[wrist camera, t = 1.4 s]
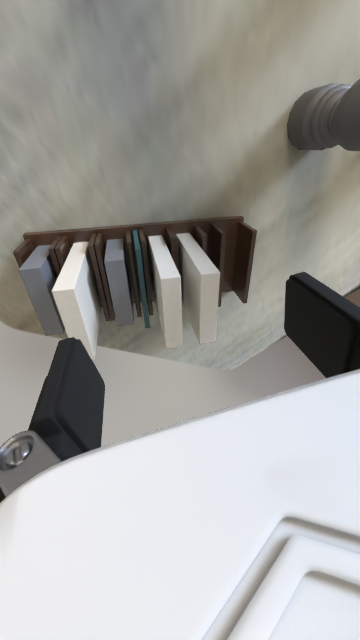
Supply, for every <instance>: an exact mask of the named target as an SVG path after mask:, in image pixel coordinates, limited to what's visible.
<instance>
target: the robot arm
mask: <svg viewBox="0 0 360 640" xmlns="http://www.w3.org/2000/svg"><path fill="white" fill-rule="evenodd" d="M284 329H285V332H286V334H287V335H288V337H289V338H290V339H291V340H292V341H293V342H294V343H295V344H296V345H297V346H298V347H299V349H300V350H301V351H302V352H303V353H304V354H305V355H306V356H307V357H308V359H309V360H310V361H311V362H312V363H313V364H314V365H315V366H316V367H317V368H318V370H319V371H320V372H321V373H322V374H323V375H324V376H325V377H326V379H323V380H319V381H316V382H313V383H309V384H306V385H302V386H299V387H296V388H292V389H289V390H285V391H282V392H279V393H275V394H272V395H269V396H265V397H262V398H258V399H255V400H252V401H249V402H245V403H242V404H239V405H235V406H232V407H229V408H225V409H222V410H219V411H215V412H212V413H209V414H205V415H203V416H199V417H196V418H192V419H189V420H186V421H183V422H179V423H176V424H173V425H169V426H166V427H163V428H160V429H157V430H153V431H150V432H147V433H144V434H140V435H137V436H134V437H131V438H128V439H124V440H121V441H118V442H115V443H112V444H109V445H106V446H103V447H101V437H102V423H103V422H102V421H103V408H104V394H105V385H104V381H103V379H102V377H101V375H100V374H99V372H98V370H97V368H96V367H95V365H94V363H93V361H92V359H91V358H90V356H89V354H88V352H87V350H86V349H85V347H84V345H83V343H82V341H81V340H80V339H75V338H74V337H71V338H67V339H64V340H60V341H59V343H58V346H57V349H56V352H55V355H54V358H53V361H52V364H51V367H50V370H49V373H48V376H47V377H46V379H45V381H44V384H43V387H42V390H41V393H40V396H39V399H38V402H37V405H36V408H35V411H34V414H33V417H32V420H31V423H30V426H29V429H28V430H27V431H23V432H20V433H18V434H16V435H14V436H12V437H11V438H9V439H8V440H7V441H6V442H5V443H4V444H3V445H2V446H1V447H0V640H360V307H358V306H356V305H355V304H353V303H352V302H350V301H349V300H347V299H346V298H344V297H343V296H341V295H340V294H338V293H336V292H335V291H333V290H332V289H330V288H329V287H327V286H326V285H324V284H323V283H321V282H320V281H318V280H316V279H315V278H313V277H312V276H310V275H309V274H307V273H305V272H301V273H298V274H294V275H291V276H290V277H289V279H288V280H287V281H286V294H285V322H284Z"/></svg>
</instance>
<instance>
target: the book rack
mask: <svg viewBox="0 0 360 640" xmlns="http://www.w3.org/2000/svg"><path fill="white" fill-rule="evenodd" d="M243 220H244V217H242V216H235V217H222V218H210V219H197V220H184V221H172V222H159V223H147V224H134V225H121V226H109V227H96V228H83V229H71V230H58V231H46V232H33V233H25V234H24V235H23V237H24V240H25V241H24V242H23V243H22V244H21V245H20V246H19V247H18V248H17V249H16V250H15V251H14V252H13V253H14V256H15V258H16V260H17V263H18V265H19V268H20V267H21V266H22V265H23V264H24V262H25V261H26V260H27V259H28V257H29V256H30V255H31V254H32V252H33V251H34V250H35V249H36V247H37V246H42V245H51V246H50V247H49V249H48V250H49V253H50V256H51V259H52V262H53V265H54V268H55V271H56V274H57V278H58V276H59V274H60V272H61V270H62V267H63V265H64V263H65V261H66V259H67V257H68V254H69V252H70V250H71V248H72V246H73V244H74V243H78V242H89V245H88V247H89V251H90V256H91V260H92V264H93V268H94V272H95V277H96V281H97V285H98V289H99V294H100V298H101V302H102V304H101V307H103V310H104V315H105V319H106V321H110V318H111V321H112V320H115V312H114V307H113V302H112V297H111V292H110V288H109V283H108V278H107V273H106V268H105V263H104V259H105V251H106V244H107V240H112V239H123V241H124V247H125V254H126V260H127V267H128V273H129V280H130V286H131V293H132V302H133V303H136V309H137V316H138V317H142V314H141V306H140V302H142V307H143V314H144V321H145V328H150V324H149V316H148V311H149V315H150V316H151V315H153V306H152V301H155V298H154V293H153V284H152V274H151V264H150V254H149V244H148V236H159V235H162V237H163V239H164V241H165V244H166V246H167V248H168V250H169V252H170V255H171V257H172V259H173V261H174V263H175V266H176V268H177V270H178V272H179V262H178V238H177V236H176V234H182V233H190V234H191V236H192V237H193V238H194V240H195V241H196V242H197V243H198V245H199V246H200V247H201V249H202V250H203V251H204V252H205V254H206V255H207V256H208V258H209V259H210V260H211V261H212V263H213V264H214V265H215V267H216V268H217V269H218V270H219V272H220V282H219V297H218V307H220V306H221V296H222V292H230V291H234V292H235V293H236V295H237V296H238V297H239V298H240V300H241V301H242V302H243V303H247V298H248V291H249V284H250V276H251V269H252V262H253V255H254V248H255V241H256V234H257V230H255V229H253V228H252V227H250V226H249V225H247V224H246V223H244V222H243ZM147 305H148V307H147Z"/></svg>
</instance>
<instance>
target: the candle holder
mask: <svg viewBox="0 0 360 640" xmlns="http://www.w3.org/2000/svg"><path fill="white" fill-rule="evenodd" d="M287 127H288V137H289V139H290V141H291V143H292V145H294V146H295V147H296V148H298V149H305V150H324V149H326V148H332V147H334V146H336V145H340V146H342V147H343V148H344V149H346V150H348V151H360V79H359V80H358V81H357V82H356V83H355V84H354V85H353V86H351V85H344V84H340V85H339V84H329V85H325V86H322V87H318V88H315V89H312V90H310V91H308V92H306V93H304V94H303V95H302V96H301V97H300V98H299V99H298V100H297V101H296V103H295V105H294V106H293V108H292V110H291V112H290V115H289V120H288V124H287Z"/></svg>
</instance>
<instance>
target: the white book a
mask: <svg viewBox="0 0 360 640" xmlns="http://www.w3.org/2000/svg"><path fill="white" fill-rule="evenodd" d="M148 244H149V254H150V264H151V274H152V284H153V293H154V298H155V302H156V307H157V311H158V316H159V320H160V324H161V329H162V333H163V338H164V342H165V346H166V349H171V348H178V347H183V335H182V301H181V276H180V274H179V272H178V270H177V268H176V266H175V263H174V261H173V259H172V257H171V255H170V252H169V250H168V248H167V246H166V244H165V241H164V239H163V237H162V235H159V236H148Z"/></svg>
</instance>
